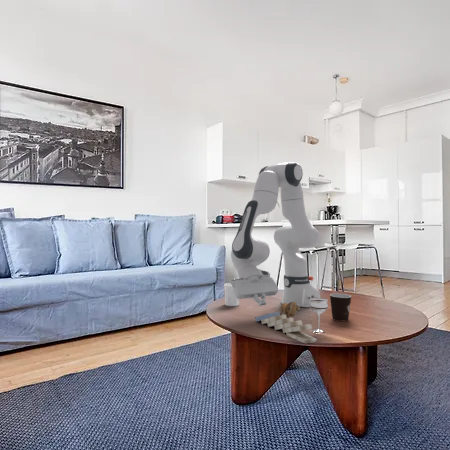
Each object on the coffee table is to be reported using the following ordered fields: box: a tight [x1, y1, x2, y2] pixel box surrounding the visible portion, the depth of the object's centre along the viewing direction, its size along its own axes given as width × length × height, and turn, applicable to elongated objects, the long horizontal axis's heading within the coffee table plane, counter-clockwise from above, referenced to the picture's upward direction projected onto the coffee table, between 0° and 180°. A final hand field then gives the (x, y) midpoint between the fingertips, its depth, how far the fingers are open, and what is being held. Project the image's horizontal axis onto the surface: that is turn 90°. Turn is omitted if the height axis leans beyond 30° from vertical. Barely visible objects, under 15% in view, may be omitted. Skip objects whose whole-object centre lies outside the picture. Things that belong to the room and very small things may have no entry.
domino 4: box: [273, 319, 303, 331], centre depth 129 cm, size 5×2×10 cm
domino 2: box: [260, 313, 287, 325], centre depth 136 cm, size 5×2×10 cm
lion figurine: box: [279, 302, 301, 318], centre depth 144 cm, size 15×5×9 cm, turn 17°
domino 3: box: [266, 316, 294, 328], centre depth 133 cm, size 5×2×10 cm
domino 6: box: [286, 331, 318, 345], centre depth 122 cm, size 5×2×10 cm
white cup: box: [223, 282, 240, 307], centre depth 171 cm, size 8×8×10 cm
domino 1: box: [255, 311, 281, 322], centre depth 140 cm, size 5×2×10 cm
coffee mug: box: [329, 293, 352, 321], centre depth 148 cm, size 12×9×10 cm
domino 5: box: [281, 323, 313, 334], centre depth 125 cm, size 5×2×10 cm
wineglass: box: [309, 297, 329, 333], centre depth 130 cm, size 7×7×12 cm
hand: (262, 304), depth 143 cm, fingers closed
